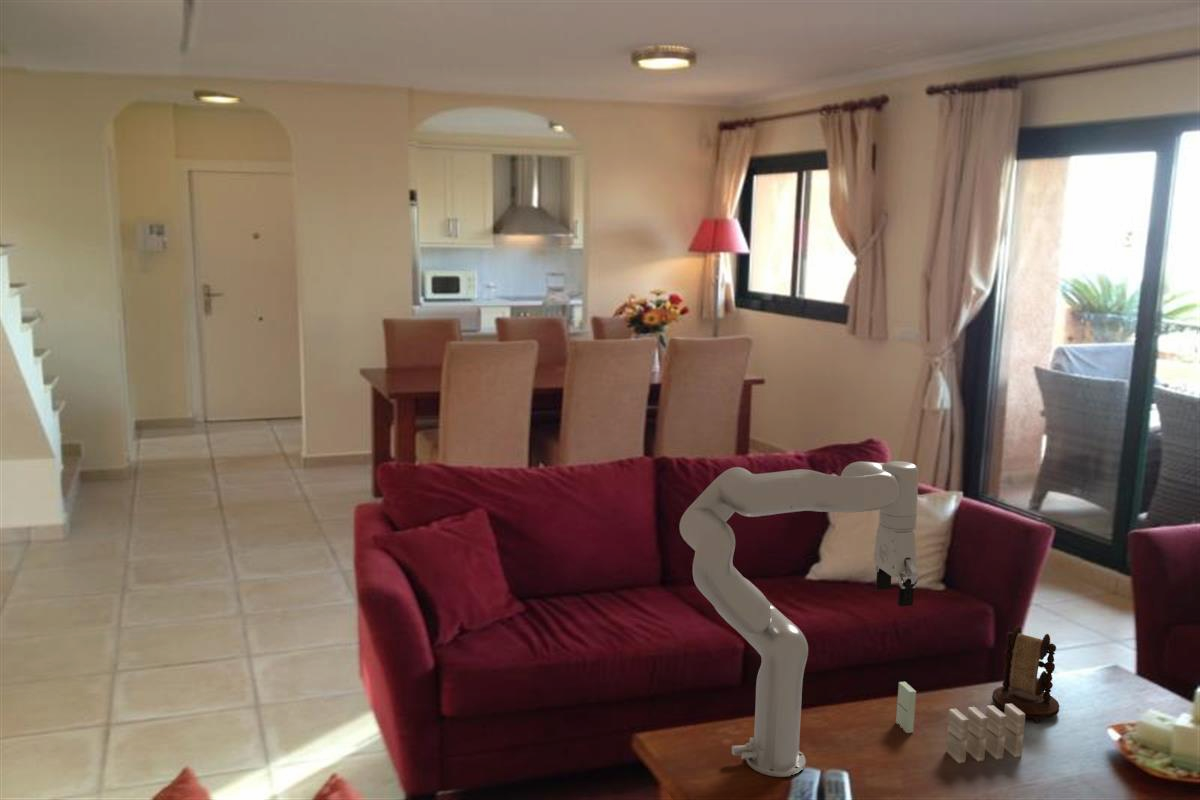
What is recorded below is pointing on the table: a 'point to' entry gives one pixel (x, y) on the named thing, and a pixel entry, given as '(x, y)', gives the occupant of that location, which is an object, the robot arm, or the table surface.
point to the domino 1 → (906, 707)
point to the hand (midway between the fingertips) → (894, 597)
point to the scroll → (1027, 676)
